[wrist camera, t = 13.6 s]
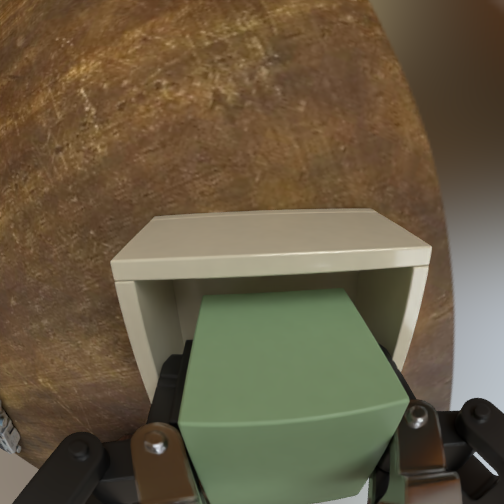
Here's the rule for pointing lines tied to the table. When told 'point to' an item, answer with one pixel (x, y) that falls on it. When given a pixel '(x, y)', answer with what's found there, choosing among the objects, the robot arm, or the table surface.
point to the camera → (8, 434)
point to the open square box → (266, 272)
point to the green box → (286, 398)
